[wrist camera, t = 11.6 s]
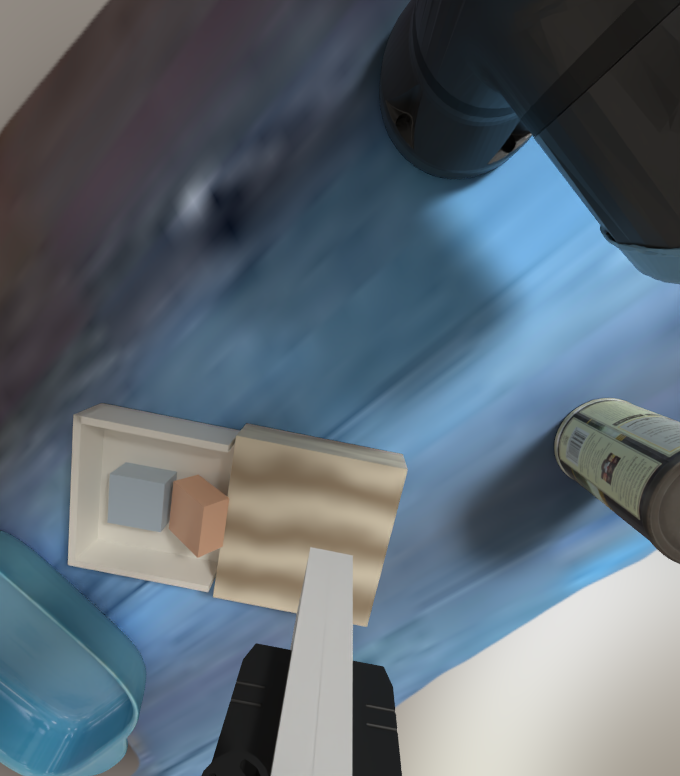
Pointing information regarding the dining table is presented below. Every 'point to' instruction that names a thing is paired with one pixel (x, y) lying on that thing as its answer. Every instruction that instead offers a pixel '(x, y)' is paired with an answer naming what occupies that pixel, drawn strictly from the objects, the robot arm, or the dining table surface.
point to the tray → (149, 448)
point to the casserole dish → (61, 673)
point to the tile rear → (140, 496)
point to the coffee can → (627, 465)
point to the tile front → (198, 515)
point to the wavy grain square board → (305, 515)
